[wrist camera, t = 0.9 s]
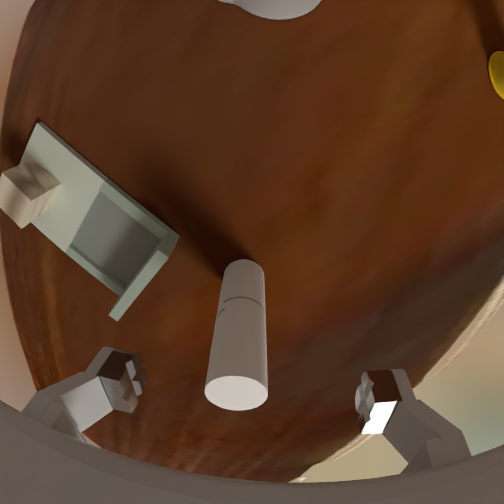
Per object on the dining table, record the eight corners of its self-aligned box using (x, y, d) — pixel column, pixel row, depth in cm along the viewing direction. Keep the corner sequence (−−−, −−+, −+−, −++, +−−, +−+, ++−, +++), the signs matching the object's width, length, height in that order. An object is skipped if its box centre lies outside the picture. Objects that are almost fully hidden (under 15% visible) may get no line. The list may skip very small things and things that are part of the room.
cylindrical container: (215, 279, 54) (193, 394, 32) (240, 251, 51) (228, 367, 29) (247, 299, 56) (241, 416, 34) (272, 274, 53) (280, 392, 31)
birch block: (23, 184, 43) (-7, 200, 35) (33, 158, 41) (2, 172, 33) (49, 208, 46) (21, 228, 38) (61, 183, 44) (31, 201, 36)
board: (11, 196, 46) (-11, 210, 39) (41, 121, 40) (15, 128, 33) (130, 297, 56) (117, 321, 50) (180, 236, 50) (168, 257, 43)
